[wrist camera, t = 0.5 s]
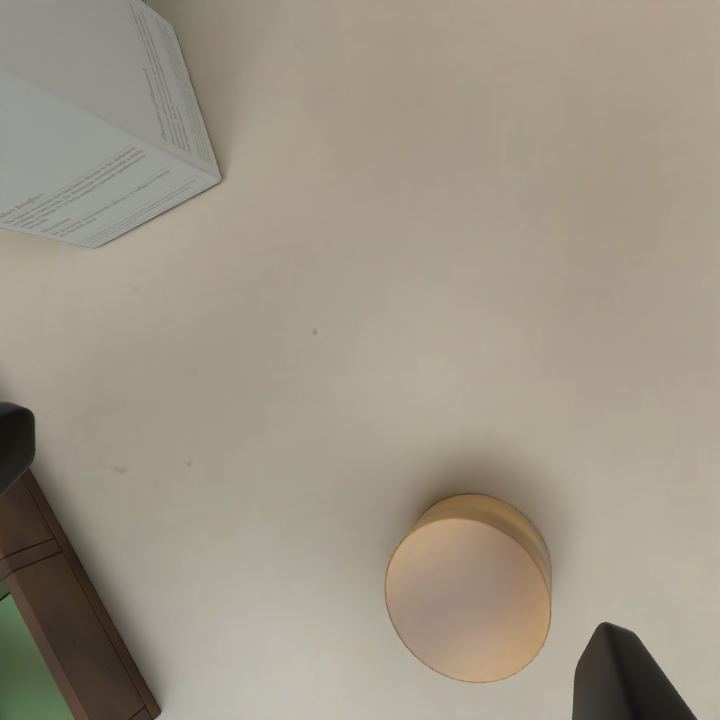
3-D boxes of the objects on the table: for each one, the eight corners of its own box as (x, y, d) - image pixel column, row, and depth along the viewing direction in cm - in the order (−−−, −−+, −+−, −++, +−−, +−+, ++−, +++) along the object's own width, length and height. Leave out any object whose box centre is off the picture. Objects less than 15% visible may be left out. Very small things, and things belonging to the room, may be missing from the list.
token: (583, 593, 19) (588, 636, 16) (461, 661, 20) (445, 711, 17) (492, 466, 20) (481, 485, 17) (381, 539, 21) (354, 568, 18)
